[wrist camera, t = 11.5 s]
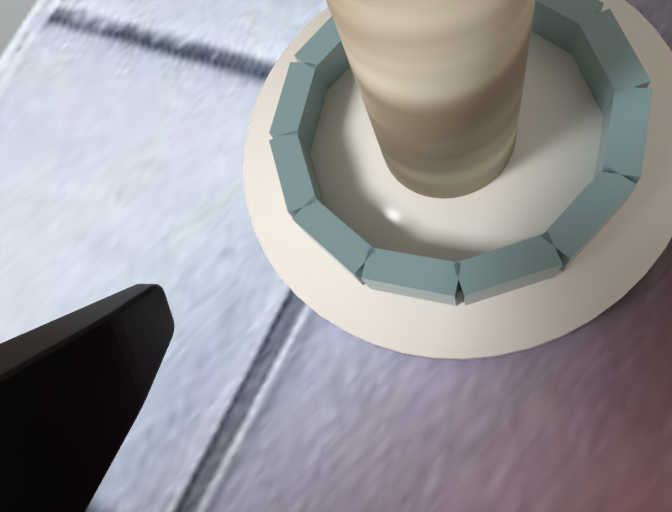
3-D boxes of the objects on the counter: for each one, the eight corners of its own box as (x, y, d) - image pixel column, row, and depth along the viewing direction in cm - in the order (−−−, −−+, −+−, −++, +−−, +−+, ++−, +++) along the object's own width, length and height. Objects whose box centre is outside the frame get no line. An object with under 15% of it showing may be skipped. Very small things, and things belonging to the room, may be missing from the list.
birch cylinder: (537, 170, 17) (644, -266, 6) (403, 217, 18) (285, -102, 7) (487, 60, 19) (504, -450, 8) (366, 107, 20) (220, -301, 8)
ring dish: (780, 273, 16) (833, 249, 14) (306, 417, 18) (281, 417, 16) (572, -83, 21) (584, -146, 19) (220, 62, 23) (191, 23, 21)
